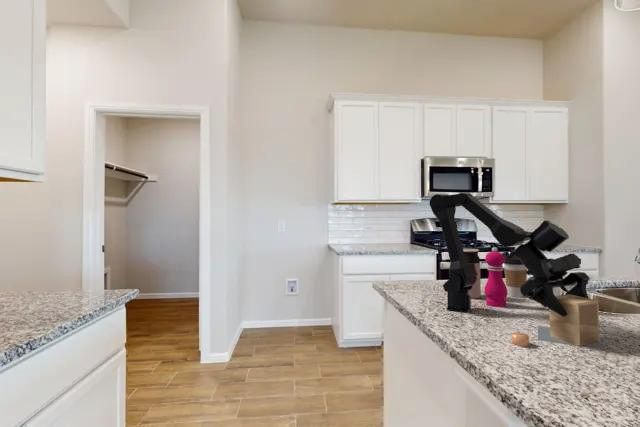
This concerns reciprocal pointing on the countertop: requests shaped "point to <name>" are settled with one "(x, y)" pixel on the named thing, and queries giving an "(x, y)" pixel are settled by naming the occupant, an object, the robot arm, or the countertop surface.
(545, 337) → the slate mat
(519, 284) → the coffee cup
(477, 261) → the travel mug
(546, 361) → the countertop surface
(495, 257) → the pepper mill
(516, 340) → the glossy peach egg
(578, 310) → the cover box
